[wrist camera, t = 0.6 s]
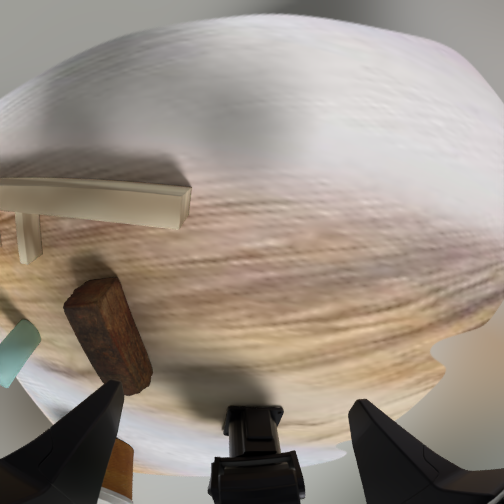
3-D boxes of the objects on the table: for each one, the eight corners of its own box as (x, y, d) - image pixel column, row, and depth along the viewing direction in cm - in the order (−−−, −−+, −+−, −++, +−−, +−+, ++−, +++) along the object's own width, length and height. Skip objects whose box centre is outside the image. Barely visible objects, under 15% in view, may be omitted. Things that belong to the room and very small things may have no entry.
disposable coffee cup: (153, 450, 31) (144, 514, 20) (130, 461, 34) (120, 515, 22) (98, 423, 29) (78, 488, 18) (82, 437, 31) (65, 491, 20)
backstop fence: (183, 276, 21) (175, 302, 17) (-4, 244, 19) (-27, 259, 15) (191, 187, 19) (181, 196, 15) (-9, 178, 16) (-35, 186, 12)
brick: (83, 279, 21) (58, 306, 16) (119, 274, 21) (97, 303, 17) (122, 367, 25) (110, 399, 20) (155, 367, 25) (146, 401, 20)
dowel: (43, 347, 23) (13, 392, 16) (24, 339, 23) (-7, 381, 15) (36, 323, 22) (0, 368, 15) (16, 316, 22) (-20, 357, 14)
